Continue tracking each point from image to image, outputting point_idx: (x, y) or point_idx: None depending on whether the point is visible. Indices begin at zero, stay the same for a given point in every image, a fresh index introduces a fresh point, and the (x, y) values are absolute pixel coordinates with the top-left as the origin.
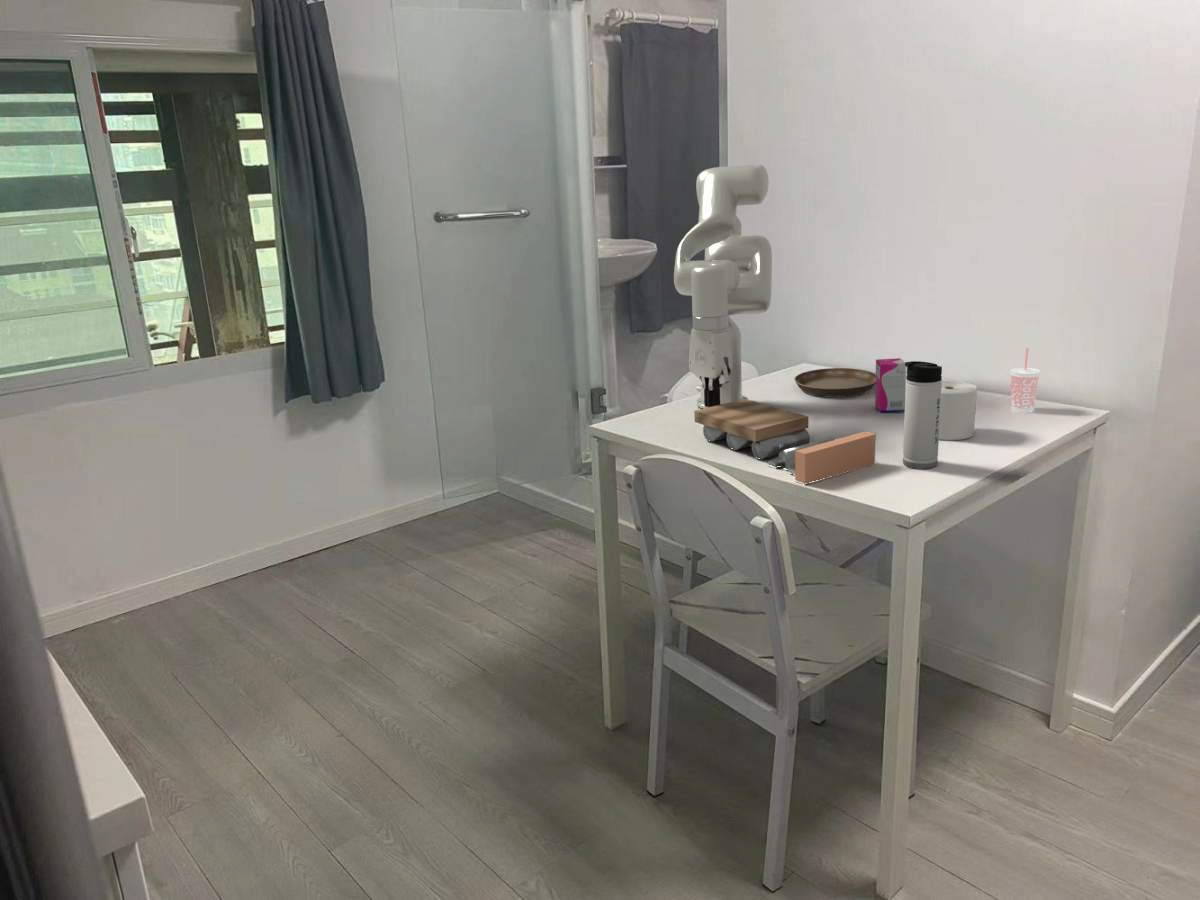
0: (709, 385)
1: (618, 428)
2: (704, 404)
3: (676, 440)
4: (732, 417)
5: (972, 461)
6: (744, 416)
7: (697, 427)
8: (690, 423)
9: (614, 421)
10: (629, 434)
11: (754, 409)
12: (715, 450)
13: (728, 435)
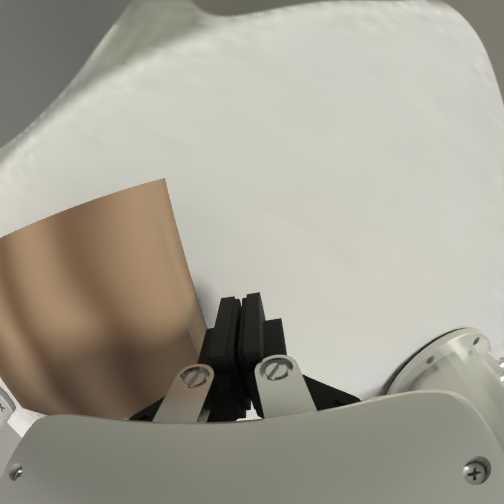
0: (199, 387)
1: (438, 36)
2: (257, 294)
3: (212, 107)
4: (13, 280)
5: (16, 423)
6: (18, 317)
7: (321, 245)
8: (377, 246)
9: (493, 75)
10: (367, 18)
11: (82, 384)
12: (65, 188)
13: None
